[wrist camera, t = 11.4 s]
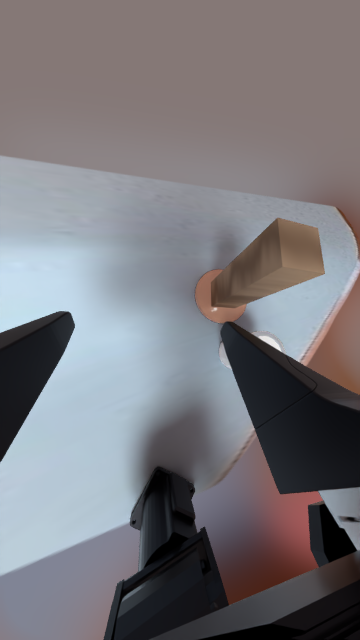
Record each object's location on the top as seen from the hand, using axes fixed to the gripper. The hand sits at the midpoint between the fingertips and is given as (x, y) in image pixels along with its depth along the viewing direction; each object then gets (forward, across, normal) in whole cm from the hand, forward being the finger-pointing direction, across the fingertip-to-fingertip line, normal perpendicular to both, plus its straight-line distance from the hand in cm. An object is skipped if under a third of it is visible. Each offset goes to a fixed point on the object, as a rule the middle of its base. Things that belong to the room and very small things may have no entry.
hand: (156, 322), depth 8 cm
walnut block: (+14, -12, +4) cm, 19 cm away
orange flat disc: (+15, -12, +4) cm, 20 cm away
